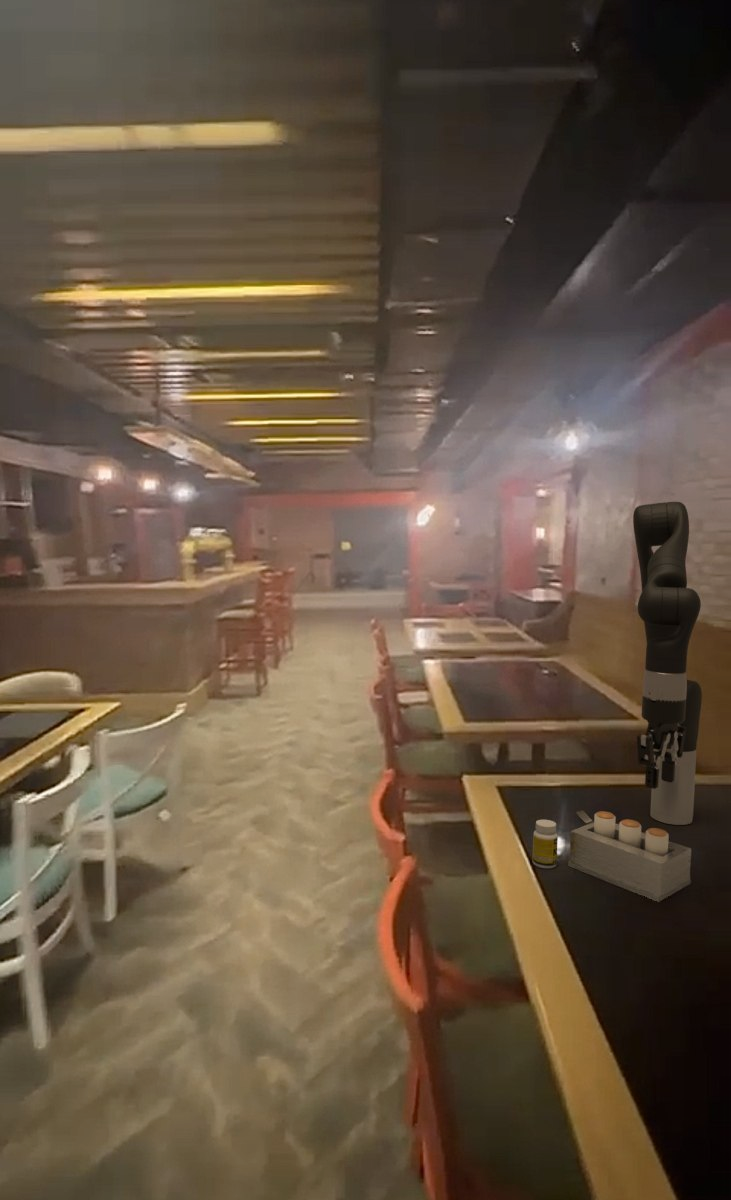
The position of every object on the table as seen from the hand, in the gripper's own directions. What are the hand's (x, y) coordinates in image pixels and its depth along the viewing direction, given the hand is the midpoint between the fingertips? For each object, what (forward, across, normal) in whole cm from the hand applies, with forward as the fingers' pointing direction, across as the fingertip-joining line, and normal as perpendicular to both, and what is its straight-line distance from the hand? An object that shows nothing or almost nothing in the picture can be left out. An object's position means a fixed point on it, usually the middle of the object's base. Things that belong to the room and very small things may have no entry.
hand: (659, 784), depth 138 cm
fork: (+20, -18, -21) cm, 34 cm away
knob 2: (+15, 0, -6) cm, 16 cm away
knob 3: (+15, 0, 0) cm, 15 cm away
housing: (+19, 0, -6) cm, 20 cm away
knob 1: (+15, 0, -11) cm, 19 cm away
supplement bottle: (+20, +9, -18) cm, 28 cm away
